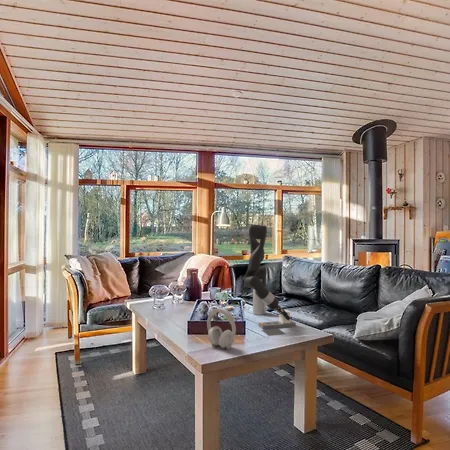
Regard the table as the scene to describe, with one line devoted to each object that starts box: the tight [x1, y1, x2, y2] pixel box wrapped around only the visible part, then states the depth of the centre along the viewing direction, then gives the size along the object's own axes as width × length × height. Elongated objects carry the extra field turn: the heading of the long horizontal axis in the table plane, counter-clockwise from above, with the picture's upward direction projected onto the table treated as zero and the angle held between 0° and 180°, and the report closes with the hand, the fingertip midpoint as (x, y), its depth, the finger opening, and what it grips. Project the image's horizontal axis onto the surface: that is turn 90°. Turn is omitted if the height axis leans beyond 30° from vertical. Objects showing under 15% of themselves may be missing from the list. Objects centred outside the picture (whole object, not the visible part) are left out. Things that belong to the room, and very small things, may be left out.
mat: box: [261, 328, 287, 337], centre depth 213 cm, size 11×11×1 cm
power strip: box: [257, 319, 297, 330], centre depth 225 cm, size 7×22×3 cm, turn 107°
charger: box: [278, 309, 291, 324], centre depth 226 cm, size 5×5×9 cm
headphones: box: [206, 307, 237, 350], centre depth 189 cm, size 19×8×20 cm, turn 47°
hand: (287, 317), depth 227 cm, fingers closed on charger, 5 cm apart
